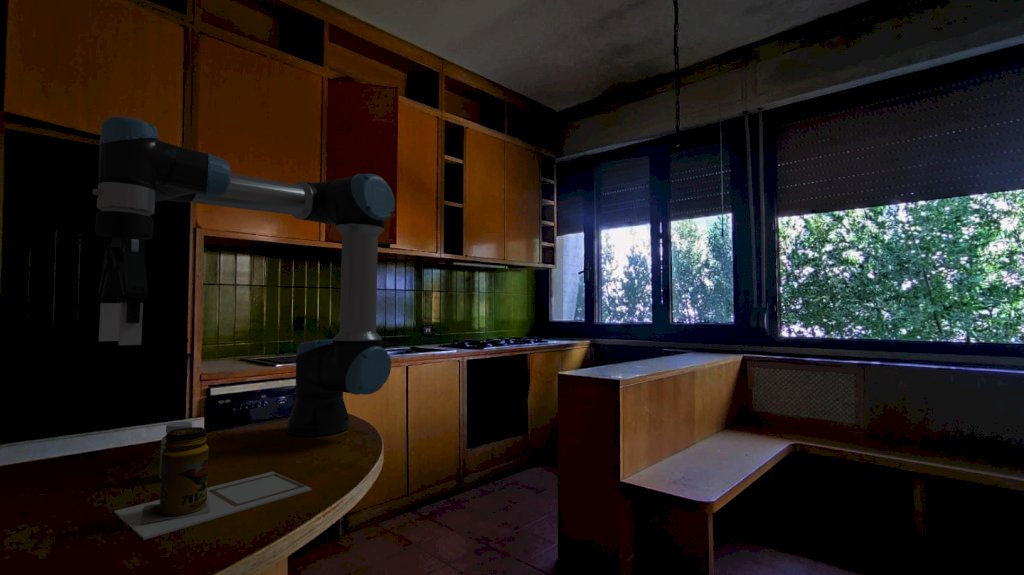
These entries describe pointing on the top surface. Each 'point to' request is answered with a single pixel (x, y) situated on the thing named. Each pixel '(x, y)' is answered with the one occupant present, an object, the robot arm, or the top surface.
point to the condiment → (182, 476)
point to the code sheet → (218, 503)
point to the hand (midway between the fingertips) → (118, 343)
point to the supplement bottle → (169, 428)
